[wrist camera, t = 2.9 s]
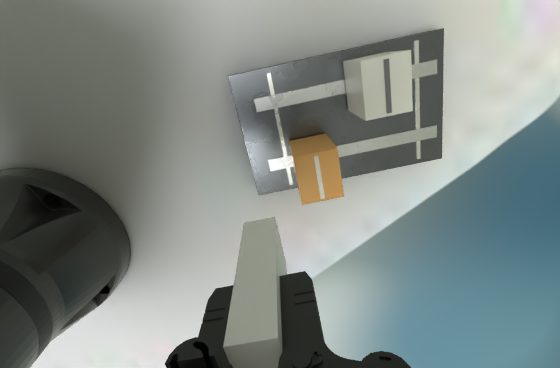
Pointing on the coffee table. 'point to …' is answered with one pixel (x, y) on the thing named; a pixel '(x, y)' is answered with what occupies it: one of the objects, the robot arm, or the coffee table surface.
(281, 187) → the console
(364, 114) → the fader white
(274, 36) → the coffee table surface
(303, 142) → the fader orange
